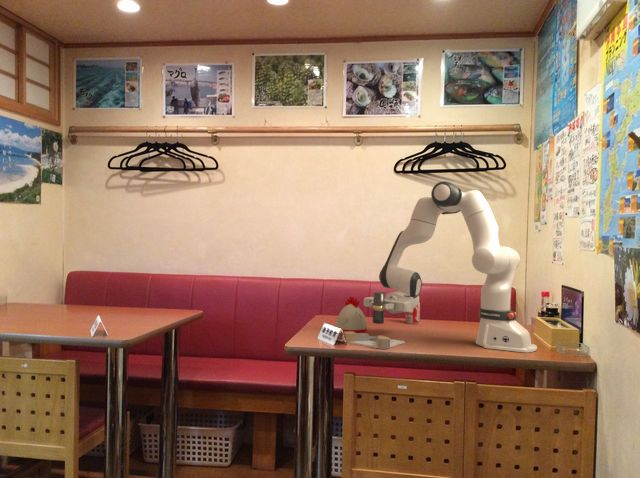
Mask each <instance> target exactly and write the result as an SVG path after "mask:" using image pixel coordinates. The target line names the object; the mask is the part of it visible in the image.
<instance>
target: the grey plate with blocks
mask: <svg viewBox="0 0 640 478" xmlns="http://www.w3.org/2000/svg"><path fill="white" fill-rule="evenodd" d="M343 335H344V338H345V340H346V342H347V343H346V344H350V343H351V344H352V345H356V346H364V347H369V348H375V349H380V350H386V349H387V350H388V349H390V348H392V347H396V346H399V345H402V344H405V341H404V340H398V339H391V338H390V337H389V336H385V335H376V336H373V335H370V334H369V333H368V332H366V333H355V332H353V331H349V332H343ZM351 344H350V345H351Z"/></svg>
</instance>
